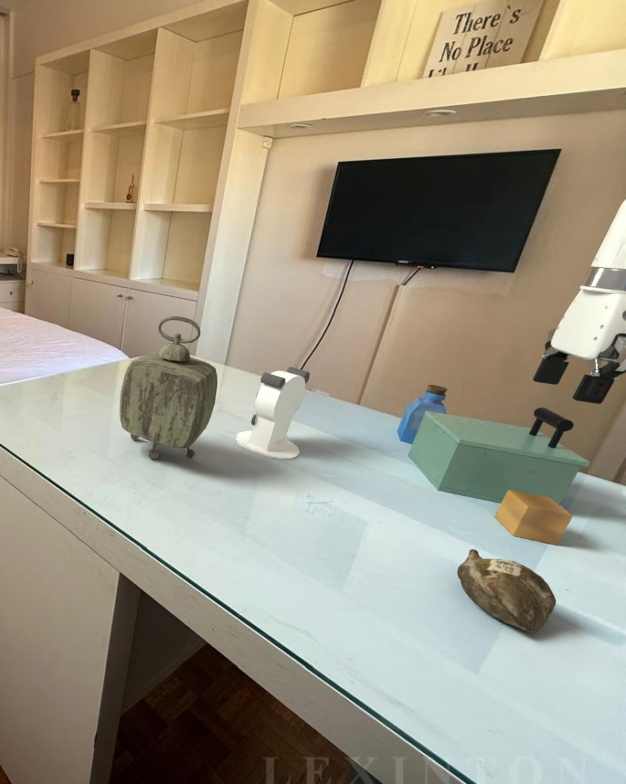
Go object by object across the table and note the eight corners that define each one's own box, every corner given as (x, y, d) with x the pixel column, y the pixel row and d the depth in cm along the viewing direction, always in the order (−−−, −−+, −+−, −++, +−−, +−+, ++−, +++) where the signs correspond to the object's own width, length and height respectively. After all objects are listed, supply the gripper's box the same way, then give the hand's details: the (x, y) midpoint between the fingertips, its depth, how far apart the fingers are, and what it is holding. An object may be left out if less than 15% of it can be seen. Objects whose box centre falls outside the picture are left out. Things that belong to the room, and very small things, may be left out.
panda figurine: (256, 427, 97) (274, 360, 92) (311, 449, 88) (334, 377, 83) (224, 439, 90) (241, 367, 85) (280, 464, 82) (303, 386, 76)
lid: (533, 432, 81) (548, 402, 79) (588, 467, 69) (607, 432, 67) (424, 414, 86) (435, 385, 84) (458, 443, 74) (472, 410, 72)
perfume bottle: (432, 439, 98) (453, 387, 94) (437, 449, 93) (460, 395, 89) (397, 431, 101) (416, 380, 97) (400, 440, 96) (421, 387, 92)
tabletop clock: (202, 457, 82) (233, 321, 73) (188, 478, 75) (220, 329, 66) (128, 434, 89) (148, 307, 80) (108, 450, 82) (127, 313, 73)
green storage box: (506, 474, 84) (527, 432, 81) (554, 514, 72) (581, 466, 69) (407, 455, 89) (424, 414, 86) (437, 490, 77) (457, 443, 74)
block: (534, 525, 69) (549, 497, 67) (556, 545, 65) (573, 516, 63) (494, 516, 70) (508, 489, 69) (512, 535, 66) (528, 506, 64)
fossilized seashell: (453, 546, 58) (437, 593, 53) (508, 526, 54) (497, 576, 48) (508, 597, 56) (498, 652, 50) (571, 581, 51) (568, 640, 45)
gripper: (713, 293, 58) (639, 415, 64) (609, 281, 73) (558, 380, 79) (635, 286, 60) (571, 404, 66) (550, 275, 75) (504, 372, 81)
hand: (564, 391), depth 73 cm, fingers open, 9 cm apart
